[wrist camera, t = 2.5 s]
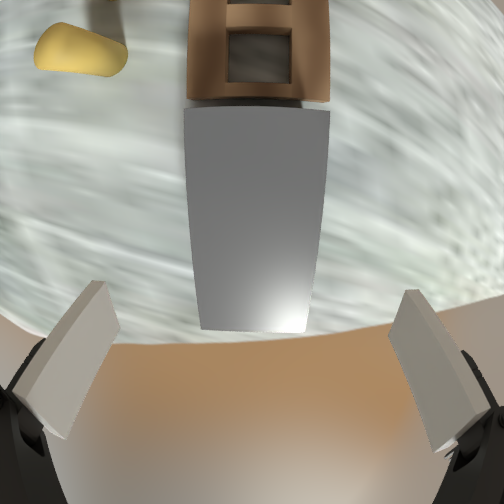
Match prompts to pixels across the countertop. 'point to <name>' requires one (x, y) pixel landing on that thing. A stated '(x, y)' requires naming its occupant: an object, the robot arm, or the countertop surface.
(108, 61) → the peg
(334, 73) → the countertop surface
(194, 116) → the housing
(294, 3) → the socket board
